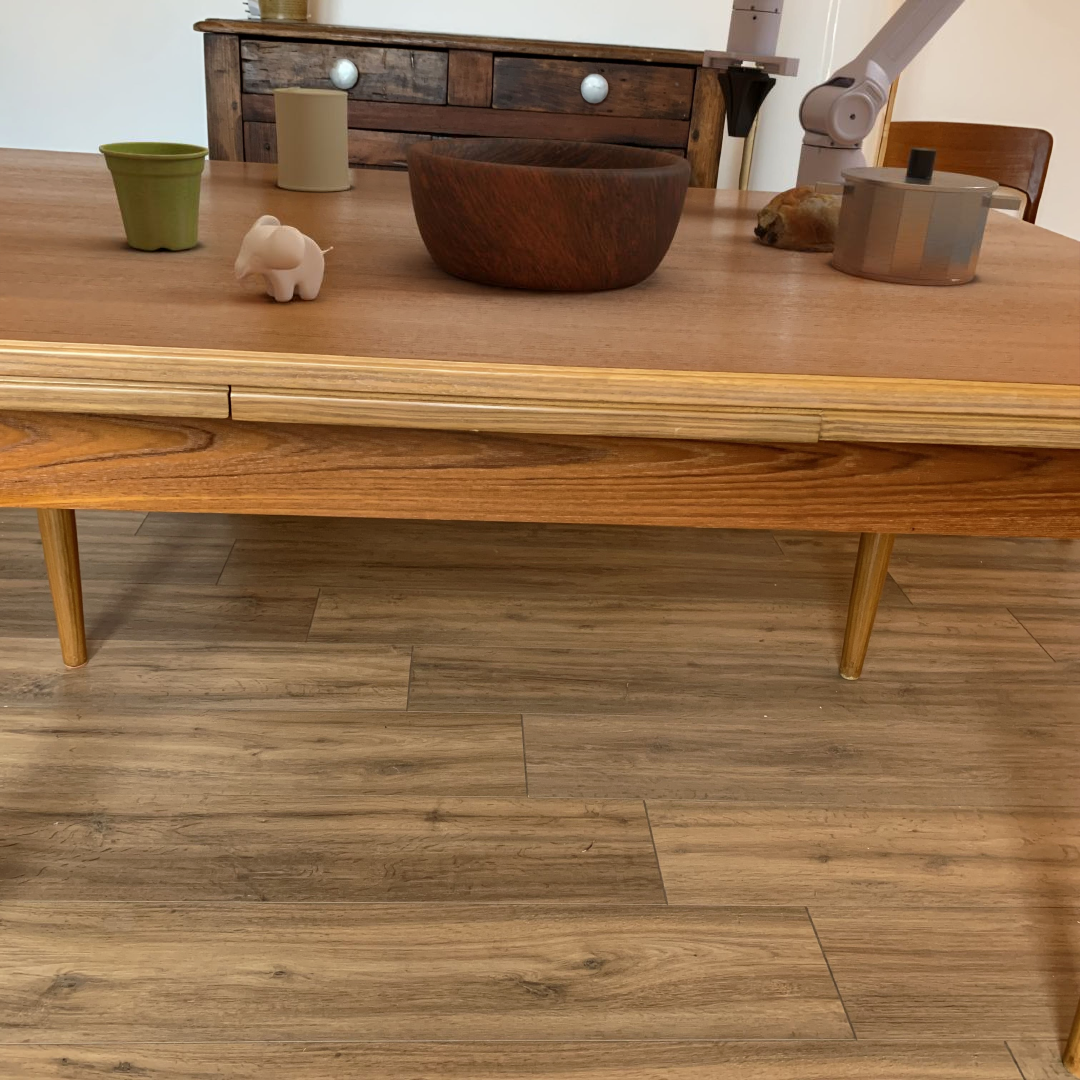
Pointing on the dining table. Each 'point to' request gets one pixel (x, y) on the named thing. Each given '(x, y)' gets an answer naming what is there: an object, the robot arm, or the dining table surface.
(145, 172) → the plant pot
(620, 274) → the wooden bowl
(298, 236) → the elephant figurine
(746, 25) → the robot arm
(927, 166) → the pot lid
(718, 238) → the dining table surface
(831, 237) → the bread roll
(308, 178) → the can
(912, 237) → the pot
